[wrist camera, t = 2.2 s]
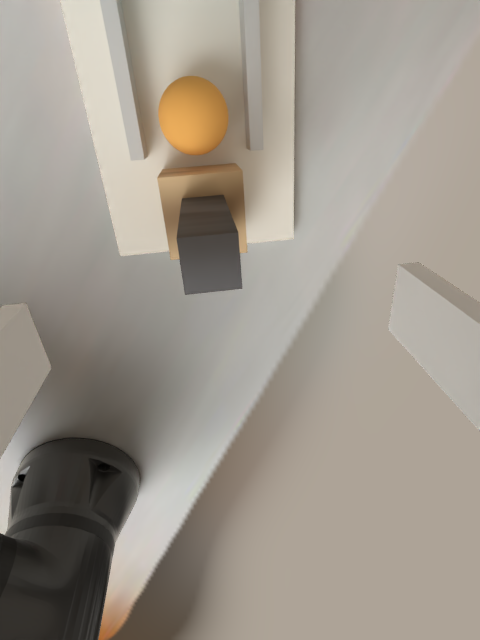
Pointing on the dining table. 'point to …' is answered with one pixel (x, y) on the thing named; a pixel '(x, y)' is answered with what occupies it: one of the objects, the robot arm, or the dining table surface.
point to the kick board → (164, 68)
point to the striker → (205, 224)
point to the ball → (193, 115)
